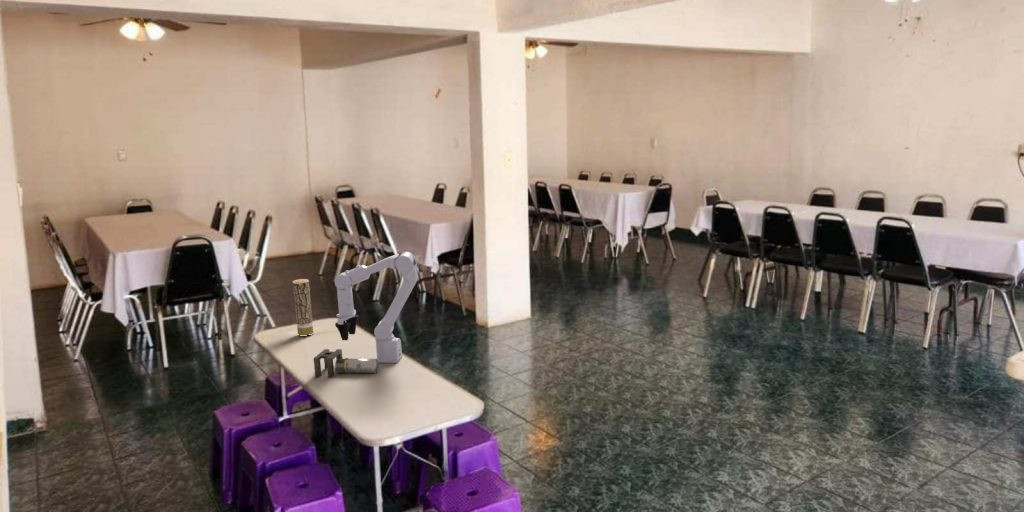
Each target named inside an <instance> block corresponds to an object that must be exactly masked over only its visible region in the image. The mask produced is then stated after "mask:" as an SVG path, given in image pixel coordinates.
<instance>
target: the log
mask: <svg viewBox="0 0 1024 512" xmlns="http://www.w3.org/2000/svg"><path fill="white" fill-rule="evenodd" d="M292 288H293V300H294V308H295V309H294V310H295V319H296V320H295V321H296V328H297V329H296V330H297V335H298V334H299V335H309V334H312V333H313V334H314V324H313V322H314V321H313V314H312V313H313V312H312V311H313V310H312V301H311V291H310V280H309V278H299V279H295V280H292ZM313 334H312V335H313ZM299 335H298V336H299Z"/></svg>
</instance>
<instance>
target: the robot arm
mask: <svg viewBox="0 0 1024 512" xmlns="http://www.w3.org/2000/svg"><path fill="white" fill-rule="evenodd" d="M417 266H418V265H417V260H416V257H415V255H414V254H413V253H412V252H411V251H403V252H401V253H396V254H394V255H391V256H388V257H386V258H383V259H382V260H379V261H377V262H375V263H373V264H370V265H367V266H366V265H364V264H362V265H361V264H358V265H356V267H354V268H352V269H350V270H348V269H347V270H345V271H344V272H341V273H339V275H337V276H336V277H335V279H334V285H335V287H336V291H337V293H336V294H337V295H336V296H337V306H338V313H337V314H336V317H337V322H335V324H334V326H335V327H336V329H337V330H338V332H339V334H340V337H341V341H348V340H349V335H356V329H357V324H358V320H359V318H360V315H358V314H357V311H356V309H355V307H354V306H355V305H354V298H353V297H354V295H353V289H352V285H357V284H358V283H361V282H363V281H366V280H368V279H370V276H371V275H372V274H375V273H377V272H380V271H384V270H385V269H388V268H389V269H391V270H397V271H398V272H399V273H400V274H401V276H402V278H403V282H402V284H401V286H400V287H399V289H398V291H397V293H396V295H395V297H394V298H393V301H392V302H391V304H390V306H389V307H388V310H387V311H386V312H385V315H384V317H383V318H381V320H380V321H379V322H378V324H377V326H375V328H374V331H373V333H374V336H375V348H376V349H375V350H376V358H375V359H377V360H378V364H380V363H381V364H382V363H384V364H385V363H389V364H390V363H391V364H395V363H398V362H399V361H400V360H401V359H402V358H403V353H402V340H401V338H399V337H395V335H394V334H393V331H394V329H395V323H396V321H397V319H398V317H399V315H400V313H401V311H402V309H403V307H404V306H405V304H406V303H407V300H408V298H409V297H410V294H411V293H412V292H413V289H414V287H415V285H416V283H417V282H418V280H419V276H418V267H417Z"/></svg>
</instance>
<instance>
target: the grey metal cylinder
mask: <svg viewBox="0 0 1024 512" xmlns="http://www.w3.org/2000/svg"><path fill="white" fill-rule="evenodd" d="M334 371H335V372H336V373H341V374H342V373H344V374H345V373H347V374H352V373H354V374H356V373H357V374H360V373H361V374H377V373H378V371H379V363H378V360H377V359H376V358H349V357H345V358H343V359H337V360H335V363H334Z"/></svg>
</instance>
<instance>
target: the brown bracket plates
mask: <svg viewBox="0 0 1024 512" xmlns="http://www.w3.org/2000/svg"><path fill="white" fill-rule="evenodd" d="M321 359H323V362H324V363H323V364H324V370H326V371H327V378H332V379H333V378H335V365H334V360H335V359H336V360H337V359H344V358H343V349H341V348H337V349H335V350H334V351H330V348H326V349H325V348H324V349H323V350H322V351H321V352H319V353H318V354H317V355H316V356H314V357H313V368H314V377H315V378H321V377H322V376H323V375H322V366H321V365H322V364H321ZM336 360H335V361H336Z"/></svg>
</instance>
